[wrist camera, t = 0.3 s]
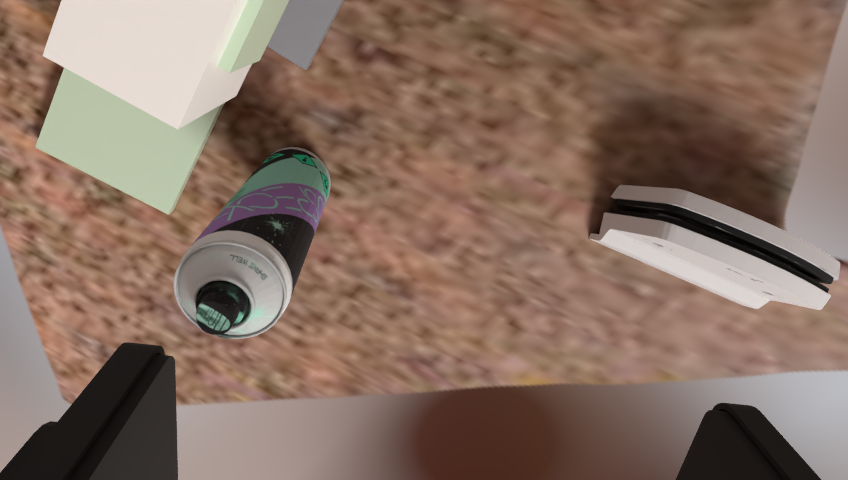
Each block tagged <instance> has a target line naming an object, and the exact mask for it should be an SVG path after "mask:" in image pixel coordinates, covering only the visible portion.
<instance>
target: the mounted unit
mask: <svg viewBox="0 0 848 480" xmlns="http://www.w3.org/2000/svg"><path fill="white" fill-rule="evenodd" d="M343 1H344V0H62V1H61V4H60V6H59V9H58V12H57V15H56V18H55V21H54V24H53V27H52V30H51V33H50V35H49V38H48V41H47V44H46V47H45V50H44V53H43V56H44V57H46V58H48V59H50V60H51V61H53V62H55V63H57V64H59V65H61V66H62V67H64V68H66V69H68V70H70V71H72V72H73V73H75V74H77V75H79V76H81V77H83V78H84V79H86V80H88V81H90V82H92V83H93V84H95V85H97V86H99V87H101V88H103V89H104V90H106V91H108V92H110V93H112V94H114V95H115V96H117V97H119V98H121V99H123V100H125V101H126V102H128V103H130V104H132V105H134V106H136V107H137V108H139V109H141V110H143V111H145V112H146V113H148V114H150V115H152V116H154V117H156V118H157V119H159V120H161V121H163V122H165V123H167V124H168V125H170V126H172V127H174V128H176V129H180V128H181V127H183V126H185V125H187V124H188V123H190V122H192V121H194V120H195V119H197V118H199V117H201V116H202V115H204V114H206V113H208V112H209V111H211V110H213V109H214V108H216V107H218V106H220V105H221V104H223V103H225V102H227V101H228V100H230V99H232V98H234V97H235V96H237V94H238V92H239V90H240V88H241V85H242V83H243V81H244V79H245V77H246V75H247V73H248V71H249V69H250V67H251V65H252V64H253V63H255V62H258V61H260V59H261V57H262V55H263V53H264V51H265V49H266V47H269V48H270V49H272V50H273V51H275V52H277V53H278V54H280V55H282V56H283V57H285V58H287V59H288V60H290V61H291V62H293V63H295V64H296V65H298V66H300V67H301V68H303V69H305V70H307V69H308V68H309V66H310V64H311V62H312V61H313V59H314V57H315V55H316V53H317V51H318V49H319V47H320V45H321V43H322V41H323V40H324V38H325V36H326V34H327V32H328V30H329V28H330V26H331V24H332V22H333V20H334V19H335V17H336V15H337V13H338V11H339V9H340V7H341V5H342V3H343Z"/></svg>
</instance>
